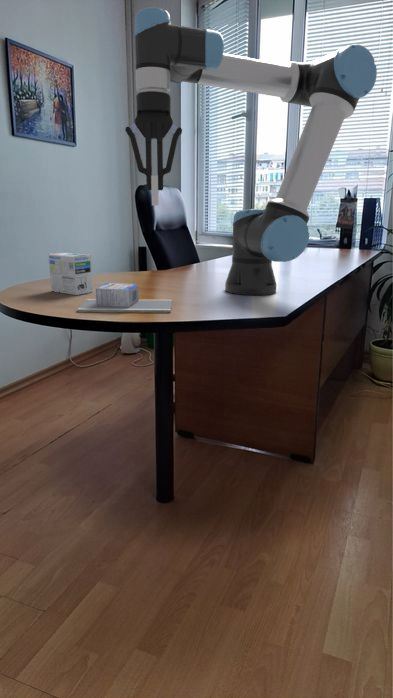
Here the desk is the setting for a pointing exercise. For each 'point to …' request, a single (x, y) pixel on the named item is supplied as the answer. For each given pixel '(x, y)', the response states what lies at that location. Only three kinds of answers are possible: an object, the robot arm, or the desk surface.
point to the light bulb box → (71, 273)
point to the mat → (137, 307)
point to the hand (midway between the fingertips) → (155, 205)
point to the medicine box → (117, 295)
